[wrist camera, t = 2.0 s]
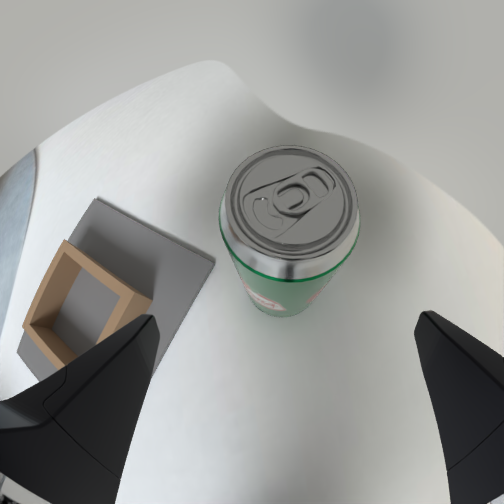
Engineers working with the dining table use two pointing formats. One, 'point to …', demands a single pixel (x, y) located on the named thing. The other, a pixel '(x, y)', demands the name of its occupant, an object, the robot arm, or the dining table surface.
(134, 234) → the can holder
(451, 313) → the dining table surface
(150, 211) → the dining table surface
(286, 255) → the soda can
